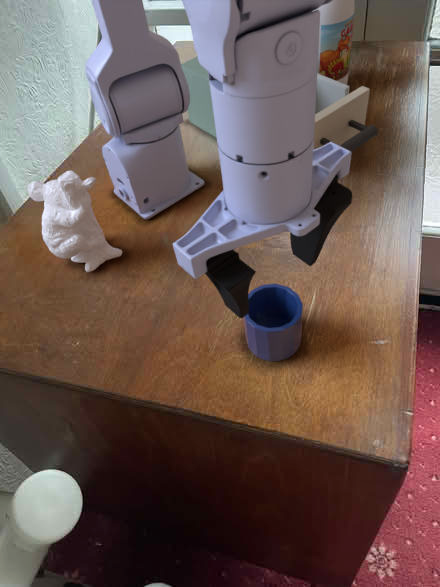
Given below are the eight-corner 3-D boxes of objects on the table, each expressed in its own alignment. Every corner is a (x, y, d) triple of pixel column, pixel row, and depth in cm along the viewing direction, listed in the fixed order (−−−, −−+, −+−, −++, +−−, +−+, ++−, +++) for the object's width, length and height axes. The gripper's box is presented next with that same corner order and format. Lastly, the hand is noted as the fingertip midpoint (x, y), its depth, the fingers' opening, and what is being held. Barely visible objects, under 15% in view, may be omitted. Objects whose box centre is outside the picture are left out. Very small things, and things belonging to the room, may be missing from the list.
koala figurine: (138, 244, 55) (107, 157, 45) (109, 286, 51) (69, 201, 42) (79, 230, 57) (39, 146, 48) (48, 269, 54) (-3, 186, 44)
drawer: (387, 149, 59) (397, 99, 54) (325, 192, 55) (330, 142, 50) (294, 106, 68) (295, 59, 62) (236, 140, 64) (231, 93, 59)
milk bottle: (297, 104, 70) (300, -57, 54) (294, 78, 74) (296, -75, 59) (350, 99, 69) (368, -65, 53) (343, 74, 74) (358, -83, 58)
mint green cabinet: (314, 118, 67) (317, 57, 60) (249, 157, 63) (244, 97, 56) (251, 88, 74) (247, 31, 67) (189, 122, 70) (179, 65, 63)
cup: (273, 372, 42) (271, 342, 38) (235, 336, 45) (230, 305, 41) (312, 338, 44) (315, 307, 40) (273, 306, 47) (272, 274, 43)
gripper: (212, 230, 23) (236, 367, 33) (399, 107, 28) (368, 261, 38) (136, 171, 27) (179, 311, 37) (312, 72, 31) (306, 221, 42)
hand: (271, 283), depth 38 cm, fingers open, 7 cm apart
